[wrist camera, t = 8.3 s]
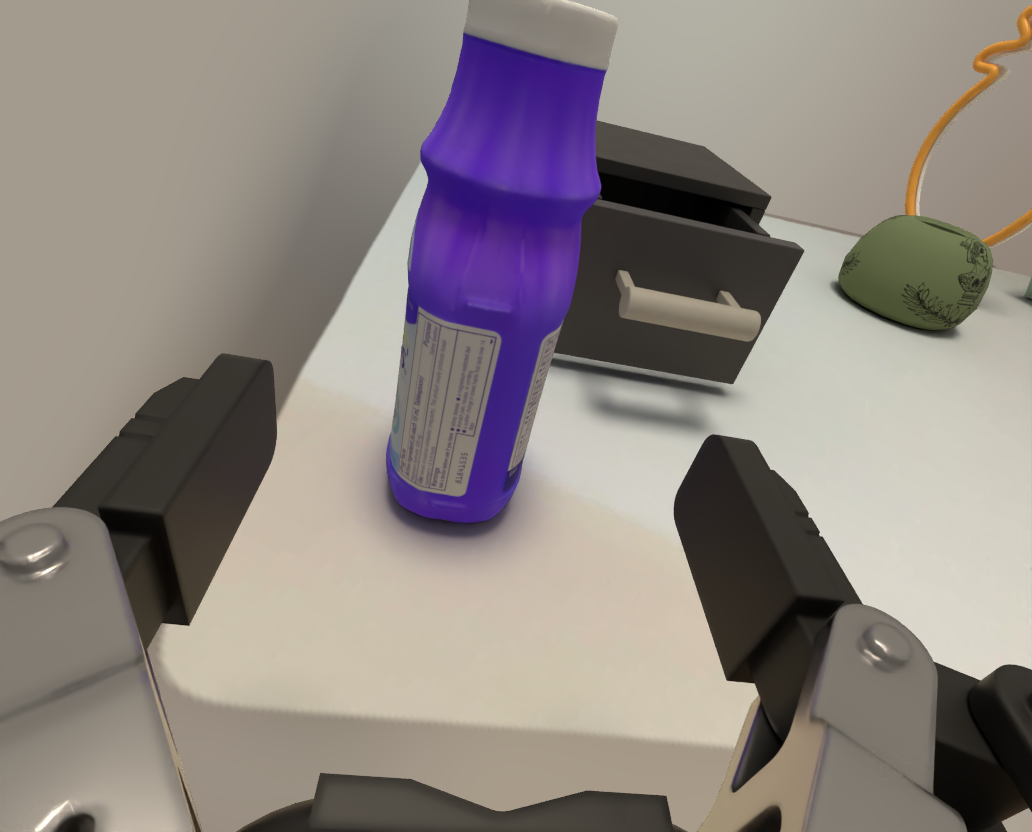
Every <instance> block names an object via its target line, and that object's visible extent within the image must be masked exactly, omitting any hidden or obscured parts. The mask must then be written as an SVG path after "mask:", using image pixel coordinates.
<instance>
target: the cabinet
mask: <svg viewBox="0 0 1032 832" xmlns="http://www.w3.org/2000/svg"><path fill="white" fill-rule="evenodd" d="M595 142H596V164H597V172H599V173H604V174H608V175H612V176H617V177H621V178H626V179H630V180H634V181H639V182H643V183H648V184H652V185H656V186H661V187H665V188H669V189H674V190H678V191H683V192H687V193H691V194H696V195H700V196H705V197H709V198H713V199H718V200H722V201H726V202H731V203H734V204H736V205H737V206H738V207H739V208H740V209H741V210H742V211H743V212H745V213H746V214H747V215H748V216H749V217H750V218H751V219H752V220H754V221H755V222H756V223H757V224H758V225H759V223H760V221H761V219H762V217H763V215H764V212H765V210H766V208H767V206H768V204H769V202H770V199H771V196H770V195H769V194H767V193H766V192H764V191H763V190H762V189H761V188H759V187H758V186H757V185H755V184H754V183H753V182H751V181H750V180H748V179H747V178H746V177H744V176H743V175H742V174H740V173H739V172H738V171H736V170H735V169H734V168H732V167H731V166H730V165H728V164H727V163H726V162H724V161H723V160H721V159H720V158H719V157H717V156H716V155H715V154H714V153H712V152H711V151H710V150H708V149H707V148H706V147H703V146H700V145H695V144H691V143H687V142H683V141H679V140H675V139H671V138H666V137H662V136H659V135H654V134H650V133H646V132H642V131H638V130H634V129H630V128H625V127H621V126H617V125H612V124H608V123H605V122H600V121H596V137H595Z"/></svg>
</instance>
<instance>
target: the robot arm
mask: <svg viewBox="0 0 1032 832" xmlns="http://www.w3.org/2000/svg"><path fill="white" fill-rule="evenodd" d="M276 439H277V423H276V406H275V388H274V372H273V366H272V364H271V362H270V361H267V360H261V359H255V358H249V357H243V356H237V355H231V354H220V355H219V356H218V357H217V358H216V359H215V360H214V362H213V363H212V364H211V365H210V367H209V368H208V369H207V370H206V372H205V373H204V374H203V375H202V377H201V378H200V379H192V378H186V377H183V378H181V379H179V380H177V381H175V382H174V383H172V384H170V385H168V386H166V387H164V388H162V389H160V390H159V391H157V392H155V393H154V394H153V395H152V396H151V397H150V398H149V399H148V400H147V402H146V403H145V404H144V405H143V406H142V407H141V408H140V409H139V410H138V412H137V413H136V414H135V418H134V419H133V418H131V419H130V421H129V422H128V423H127V424H126V425H125V426H124V427H123V428H122V430H121V431H120V434H119V437H117V436H116V437H115V438H114V439H113V440H112V441H111V442H110V443H109V444H108V445H107V446H106V448H105V449H104V450H103V451H102V452H101V453H100V454H99V455H98V457H97V458H96V459H95V460H94V461H93V462H92V463H91V464H90V465H89V467H88V468H87V469H86V470H85V471H84V472H83V473H82V475H81V476H80V477H79V478H78V479H77V480H76V481H75V482H74V484H73V485H72V486H71V487H70V488H69V489H68V490H67V491H66V492H65V494H64V495H63V496H62V497H61V498H60V499H59V500H58V501H57V503H56V504H55V505H54V506H53V507H52V508H44V509H38V510H34V511H29V512H25V513H22V514H19V515H16V516H13V517H10V518H8V519H6V520H3V521H1V522H0V832H202V828H201V825H200V822H199V818H198V815H197V812H196V809H195V805H194V802H193V799H192V796H191V792H190V789H189V786H188V783H187V780H186V777H185V774H184V770H183V767H182V764H181V760H180V757H179V754H178V751H177V747H176V744H175V740H174V737H173V733H172V730H171V727H170V723H169V720H168V716H167V713H166V710H165V706H164V703H163V700H162V696H161V693H160V690H159V686H158V683H157V679H156V676H155V673H154V670H153V666H152V663H151V660H150V656H149V653H148V650H147V649H148V647H149V645H150V643H151V641H152V639H153V637H154V636H155V634H156V632H157V630H158V629H159V627H160V625H161V623H167V624H177V625H187V626H189V625H190V623H191V621H192V619H193V617H194V615H195V613H196V611H197V609H198V607H199V605H200V603H201V601H202V599H203V597H204V595H205V593H206V591H207V589H208V587H209V585H210V583H211V581H212V579H213V577H214V575H215V573H216V571H217V569H218V567H219V565H220V563H221V561H222V559H223V557H224V555H225V553H226V551H227V549H228V547H229V545H230V543H231V541H232V539H233V537H234V535H235V533H236V531H237V529H238V527H239V526H240V524H241V522H242V520H243V518H244V516H245V514H246V512H247V510H248V508H249V506H250V504H251V502H252V500H253V498H254V496H255V494H256V492H257V490H258V488H259V486H260V484H261V482H262V480H263V478H264V476H265V474H266V472H267V470H268V468H269V466H270V464H271V461H272V458H273V455H274V451H275V446H276ZM808 514H809V513H808V511H807V509H806V508H805V506H804V504H803V503H802V501H801V499H800V498H799V496H798V494H797V493H796V491H795V490H794V489H793V488H792V487H791V486H790V485H789V484H788V483H787V482H786V481H785V480H784V479H783V478H782V477H781V476H779V475H778V474H777V473H776V472H775V471H774V470H770V468H769V466H768V464H767V463H766V461H765V459H764V457H763V456H762V454H761V452H760V450H759V449H758V447H757V445H756V444H755V443H754V442H753V441H751V440H745V439H739V438H733V437H727V436H721V435H714V434H713V435H710V436H709V437H707V438H706V440H705V441H704V443H703V444H702V446H701V448H700V450H699V452H698V454H697V455H696V457H695V459H694V461H693V463H692V465H691V467H690V469H689V470H688V472H687V474H686V476H685V478H684V480H683V482H682V484H681V485H680V487H679V489H678V491H677V494H676V497H675V502H674V520H675V524H676V527H677V530H678V533H679V536H680V539H681V542H682V545H683V548H684V551H685V554H686V558H687V561H688V564H689V567H690V570H691V573H692V576H693V579H694V582H695V585H696V588H697V591H698V594H699V597H700V600H701V603H702V606H703V609H704V613H705V616H706V619H707V622H708V625H709V628H710V631H711V634H712V637H713V640H714V643H715V646H716V649H717V652H718V655H719V658H720V661H721V664H722V668H723V671H724V674H725V677H726V680H727V681H736V682H746V683H755V685H756V688H757V691H758V693H759V696H758V697H757V698H756V699H755V700H754V701H753V702H752V704H751V706H750V708H749V711H748V713H747V716H746V719H745V722H744V724H743V727H742V730H741V733H740V735H739V738H738V741H737V744H736V746H735V749H734V752H733V755H732V758H731V760H730V763H729V766H728V769H727V771H726V774H725V777H724V780H723V782H722V785H721V788H720V791H719V793H718V796H717V799H716V801H715V803H714V805H713V807H712V808H711V810H710V812H709V814H708V815H707V817H706V818H705V820H704V821H703V822H702V824H701V825H700V827H699V829H698V830H697V832H1007V831H1006V829H1005V827H1004V826H1003V824H1002V822H1001V821H1003V820H1005V819H1007V818H1009V817H1011V816H1013V815H1015V814H1017V813H1019V812H1021V811H1023V810H1025V809H1027V808H1029V809H1030V810H1031V812H1032V670H1031V669H1028V668H1025V667H1022V666H1018V665H1010V664H1009V665H1003V666H1001V667H999V668H997V669H996V670H995V671H993V672H992V673H991V674H989V675H988V676H987V677H985V678H984V679H982V680H981V681H980V680H978V679H975V678H973V677H970V676H968V675H965V674H963V673H960V672H958V671H956V670H953V669H951V668H948V667H946V666H943V665H941V664H938V663H936V662H933V659H932V657H931V656H930V654H929V652H928V651H927V649H926V648H925V647H924V645H923V644H922V643H921V641H920V640H919V639H918V638H917V637H916V636H915V635H914V634H913V633H912V632H911V631H910V630H909V629H908V628H907V627H905V626H904V625H903V624H901V623H900V622H899V621H898V620H896V619H895V618H893V617H891V616H890V615H888V614H886V613H884V612H883V611H881V610H878V609H876V608H873V607H870V606H867V605H863V604H862V602H861V600H860V599H859V597H858V595H857V594H856V592H855V590H854V589H853V587H852V585H851V584H850V582H849V580H848V579H847V577H846V575H845V573H844V572H843V570H842V568H841V567H840V565H839V563H838V562H837V560H836V558H835V557H834V555H833V553H832V552H831V550H830V548H829V547H828V545H827V543H826V541H825V540H824V538H823V537H821V536H819V533H820V531H819V530H818V528H817V526H816V525H815V523H814V521H813V520H812V518H809V517H808ZM237 832H687V831H685V830H683V829H682V828H680V827H678V826H676V825H673V824H672V821H671V816H670V811H669V806H668V802H667V797H666V796H660V795H645V794H630V793H614V792H599V791H584V792H580V793H577V794H572V795H569V796H565V797H561V798H557V799H553V800H549V801H545V802H541V803H538V804H534V805H530V806H526V807H522V808H519V809H515V810H511V811H506V812H502V811H495V810H491V809H489V808H486V807H483V806H481V805H478V804H475V803H473V802H470V801H467V800H465V799H462V798H459V797H457V796H454V795H452V794H449V793H446V792H444V791H441V790H438V789H436V788H433V787H430V786H428V785H425V784H422V783H420V782H417V781H414V780H412V779H401V778H385V777H371V776H354V775H340V774H325V773H320V776H319V781H318V785H317V789H316V793H315V797H314V799H311V800H307V801H303V802H299V803H295V804H292V805H290V806H287V807H285V808H282V809H279V810H276V811H274V812H271V813H269V814H267V815H265V816H263V817H261V818H259V819H257V820H256V821H254V822H252V823H250V824H248V825H246V826H244V827H243V828H241V829H240V830H238V831H237Z"/></svg>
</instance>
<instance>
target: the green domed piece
mask: <svg viewBox="0 0 1032 832" xmlns="http://www.w3.org/2000/svg"><path fill="white" fill-rule="evenodd" d="M992 267H993V258H992V254H991V251H990V248H989V247H988V246H987V244H985V243H984V242H983V241H982V240H980V239H979V238H978V237H977V236H976V235H974V234H972V233H970V232H968V231H966V230H963V229H961V228H959V227H956V226H953V225H951V224H948V223H945V222H942V221H939V220H935V219H932V218H928V217H923V216H917V215H899V216H894V217H891V218H889V219H887V220H884V221H882V222H881V223H880V224H878V225H877V226H875V227H874V228H872V229H871V230H870V231H869V232H868V233H867V234H865V235H864V236H863V237H862V238H861V239H860V240H859V241H858V242H857V243H856V245H855V246H854V247H853V248H852V249H851V251H850V252H849V253H848V254H847V255H846V257H845V259H844V262H843V265H842V267H841V270H840V273H839V283H840V285H841V287H842V289H843V291H844V292H845V293H846V294H847V295H848V296H849V297H850V298H851V299H853V300H854V301H856V302H857V303H859V304H860V305H862V306H864V307H865V308H867V309H869V310H871V311H873V312H876V313H878V314H880V315H882V316H884V317H886V318H889V319H892V320H894V321H897V322H900V323H903V324H905V325H909V326H913V327H917V328H921V329H927V330H943V329H948V328H954V327H955V326H957V325H959V324H960V323H962V322H963V321H964V320H965V319H966V318H967V317H968V316H969V315H970V314H971V313H972V312H974V311H975V310H976V309H977V307H978V305H979V303H980V302H981V300H982V298H983V296H984V294H985V292H986V290H987V288H988V285H989V281H990V278H991V274H992Z"/></svg>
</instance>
